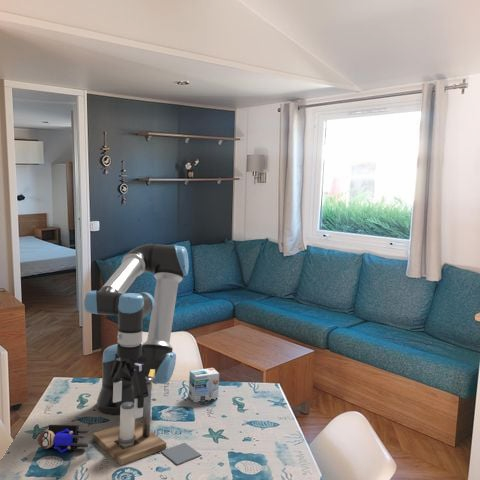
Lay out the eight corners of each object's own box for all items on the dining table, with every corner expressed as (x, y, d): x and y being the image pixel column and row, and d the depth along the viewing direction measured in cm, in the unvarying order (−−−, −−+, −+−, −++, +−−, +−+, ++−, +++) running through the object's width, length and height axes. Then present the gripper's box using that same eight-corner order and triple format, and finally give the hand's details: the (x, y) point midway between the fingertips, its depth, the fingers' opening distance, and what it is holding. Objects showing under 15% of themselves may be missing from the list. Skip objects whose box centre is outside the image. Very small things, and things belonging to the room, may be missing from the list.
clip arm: (155, 377, 173) (156, 368, 173) (151, 392, 160) (152, 383, 160) (149, 377, 173) (149, 368, 173) (144, 392, 160) (144, 383, 160)
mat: (161, 452, 154) (161, 451, 154) (184, 443, 160) (184, 442, 160) (177, 465, 148) (177, 464, 148) (201, 455, 154) (201, 454, 154)
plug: (114, 447, 156) (116, 403, 154) (129, 442, 160) (131, 399, 158) (123, 454, 152) (124, 410, 150) (138, 449, 156) (139, 405, 154)
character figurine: (85, 456, 150) (35, 455, 150) (91, 442, 158) (44, 441, 157) (85, 433, 149) (35, 432, 148) (91, 420, 156) (43, 419, 155)
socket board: (92, 439, 160) (93, 433, 160) (136, 425, 171) (136, 419, 171) (120, 465, 146) (121, 459, 146) (166, 448, 157) (166, 442, 157)
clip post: (138, 435, 160) (140, 377, 158) (147, 432, 163) (149, 375, 161) (143, 440, 158) (146, 381, 156) (153, 437, 160) (155, 378, 158)
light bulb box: (194, 403, 191) (195, 376, 190) (187, 396, 197) (188, 370, 196) (218, 399, 196) (220, 373, 195) (211, 392, 202) (213, 367, 200)
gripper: (100, 335, 159) (98, 398, 161) (139, 357, 140) (136, 427, 142) (121, 331, 164) (119, 392, 166) (161, 352, 145) (158, 420, 147)
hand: (127, 409), depth 154 cm, fingers open, 13 cm apart
